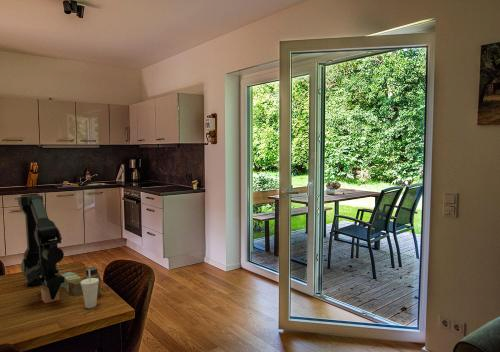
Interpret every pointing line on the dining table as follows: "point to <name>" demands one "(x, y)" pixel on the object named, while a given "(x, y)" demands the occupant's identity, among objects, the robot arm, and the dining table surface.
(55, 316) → the dining table surface
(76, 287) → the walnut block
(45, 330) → the dining table surface
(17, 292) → the dining table surface
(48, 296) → the terracotta block
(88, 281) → the smoothie
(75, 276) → the maple block
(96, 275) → the supplement bottle
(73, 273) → the slate block
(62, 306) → the dining table surface
